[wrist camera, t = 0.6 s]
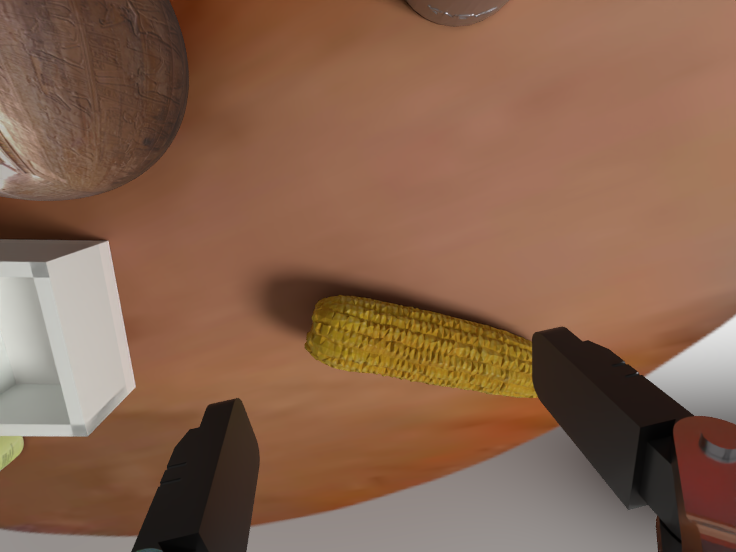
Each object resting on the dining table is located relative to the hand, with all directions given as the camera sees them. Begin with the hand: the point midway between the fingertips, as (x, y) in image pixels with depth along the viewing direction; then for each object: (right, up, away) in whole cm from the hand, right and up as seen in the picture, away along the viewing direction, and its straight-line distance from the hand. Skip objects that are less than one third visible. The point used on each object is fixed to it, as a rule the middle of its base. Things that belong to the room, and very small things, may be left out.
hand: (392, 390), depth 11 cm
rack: (-30, 0, +21) cm, 37 cm away
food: (+5, -2, +23) cm, 23 cm away
